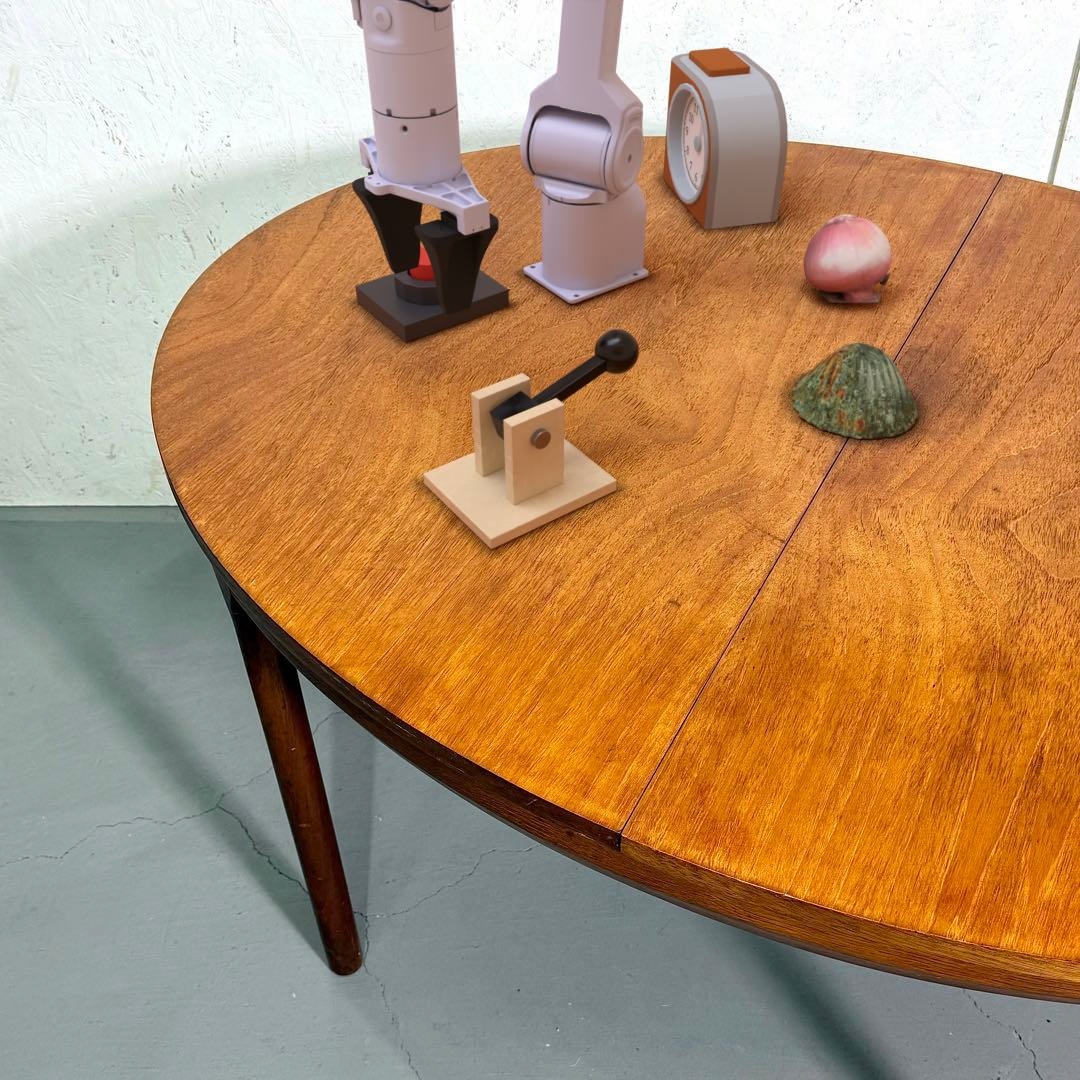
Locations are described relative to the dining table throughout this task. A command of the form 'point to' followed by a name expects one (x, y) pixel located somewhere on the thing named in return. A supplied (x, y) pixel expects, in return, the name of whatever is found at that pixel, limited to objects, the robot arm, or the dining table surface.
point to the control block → (424, 303)
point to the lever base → (517, 469)
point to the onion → (848, 260)
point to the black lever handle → (576, 376)
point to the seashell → (856, 394)
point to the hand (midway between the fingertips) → (430, 288)
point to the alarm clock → (725, 138)
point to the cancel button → (423, 268)
